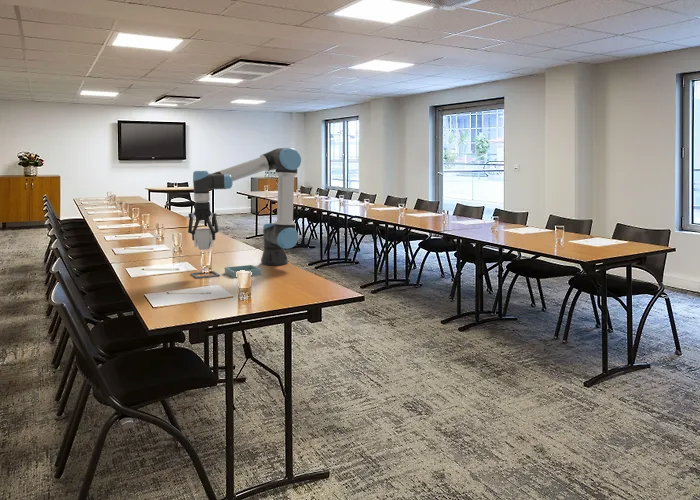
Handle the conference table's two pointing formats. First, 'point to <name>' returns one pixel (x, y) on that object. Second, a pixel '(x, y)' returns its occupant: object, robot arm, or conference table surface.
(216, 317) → the conference table surface
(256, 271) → the bin
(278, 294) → the conference table surface
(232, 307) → the conference table surface
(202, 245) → the cup
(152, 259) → the conference table surface
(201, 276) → the grey flat square frame
